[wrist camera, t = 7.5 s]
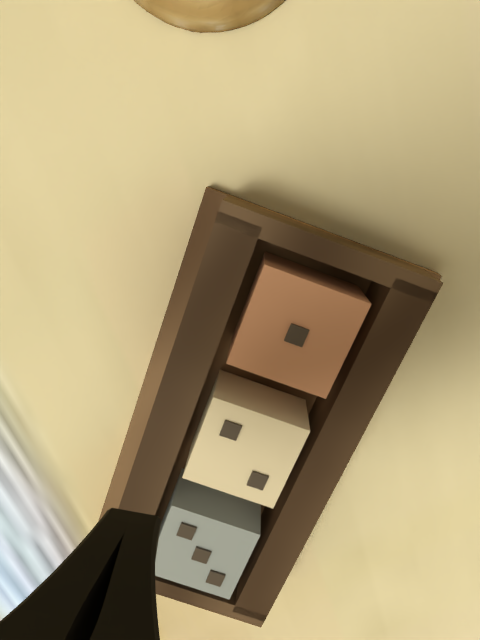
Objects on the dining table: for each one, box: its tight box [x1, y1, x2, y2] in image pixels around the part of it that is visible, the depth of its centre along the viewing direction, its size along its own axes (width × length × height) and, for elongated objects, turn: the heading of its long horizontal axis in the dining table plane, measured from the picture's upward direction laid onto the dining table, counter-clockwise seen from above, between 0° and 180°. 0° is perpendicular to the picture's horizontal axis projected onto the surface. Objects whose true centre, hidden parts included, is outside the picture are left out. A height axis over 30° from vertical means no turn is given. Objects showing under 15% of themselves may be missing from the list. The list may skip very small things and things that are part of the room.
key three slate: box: [155, 468, 261, 599], centre depth 21 cm, size 4×4×3 cm
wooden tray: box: [99, 187, 443, 627], centre depth 20 cm, size 10×18×3 cm, turn 160°
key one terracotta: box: [226, 252, 371, 399], centre depth 18 cm, size 4×4×3 cm
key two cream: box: [182, 370, 310, 508], centre depth 19 cm, size 4×4×3 cm
